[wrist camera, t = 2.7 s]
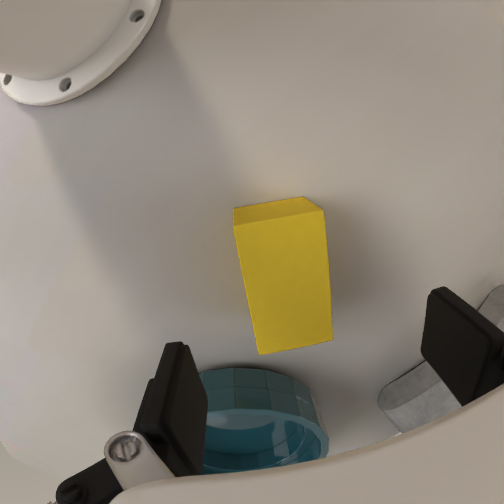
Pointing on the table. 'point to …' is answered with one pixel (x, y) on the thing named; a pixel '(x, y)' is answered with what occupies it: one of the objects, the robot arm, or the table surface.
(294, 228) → the sponge
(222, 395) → the bowl
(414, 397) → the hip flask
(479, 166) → the table surface
